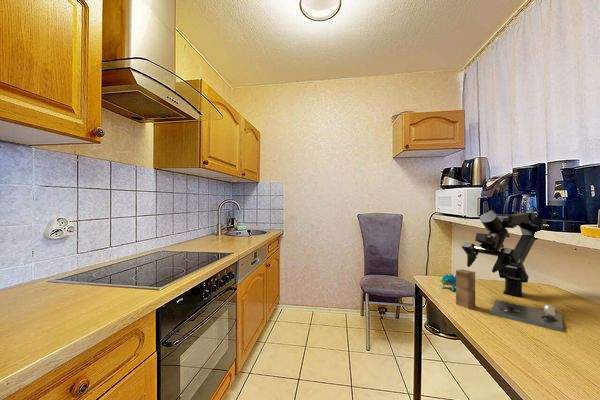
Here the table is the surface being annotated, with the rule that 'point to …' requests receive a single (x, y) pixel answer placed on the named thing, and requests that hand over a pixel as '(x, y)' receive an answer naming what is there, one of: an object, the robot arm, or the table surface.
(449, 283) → the teal bumpy cluster
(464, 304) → the post
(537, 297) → the table surface
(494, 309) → the bolt plate
